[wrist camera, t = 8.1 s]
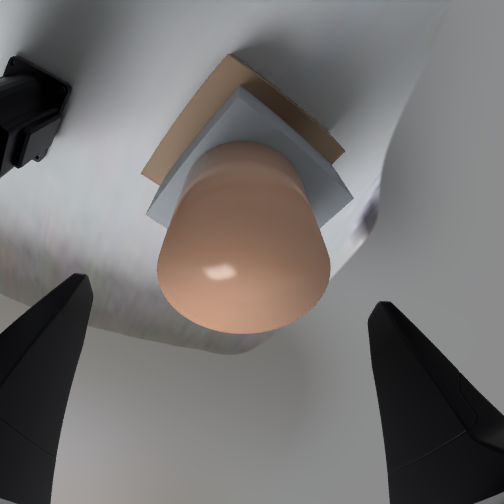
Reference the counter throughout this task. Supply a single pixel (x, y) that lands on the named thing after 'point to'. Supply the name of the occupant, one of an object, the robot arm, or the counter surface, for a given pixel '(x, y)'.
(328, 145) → the walnut slab
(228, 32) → the counter surface
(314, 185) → the slate slab
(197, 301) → the terracotta cylinder
